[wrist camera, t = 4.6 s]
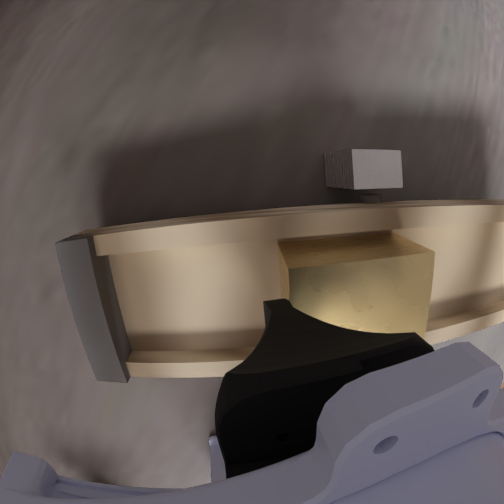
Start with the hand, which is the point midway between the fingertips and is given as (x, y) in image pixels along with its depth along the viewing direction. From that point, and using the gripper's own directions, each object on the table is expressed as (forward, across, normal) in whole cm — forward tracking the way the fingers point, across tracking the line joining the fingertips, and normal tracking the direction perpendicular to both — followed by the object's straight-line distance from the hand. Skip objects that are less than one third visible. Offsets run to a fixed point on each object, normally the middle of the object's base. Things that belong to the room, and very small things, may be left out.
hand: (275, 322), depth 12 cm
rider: (+3, -4, 0) cm, 5 cm away
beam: (+4, -6, 0) cm, 8 cm away
